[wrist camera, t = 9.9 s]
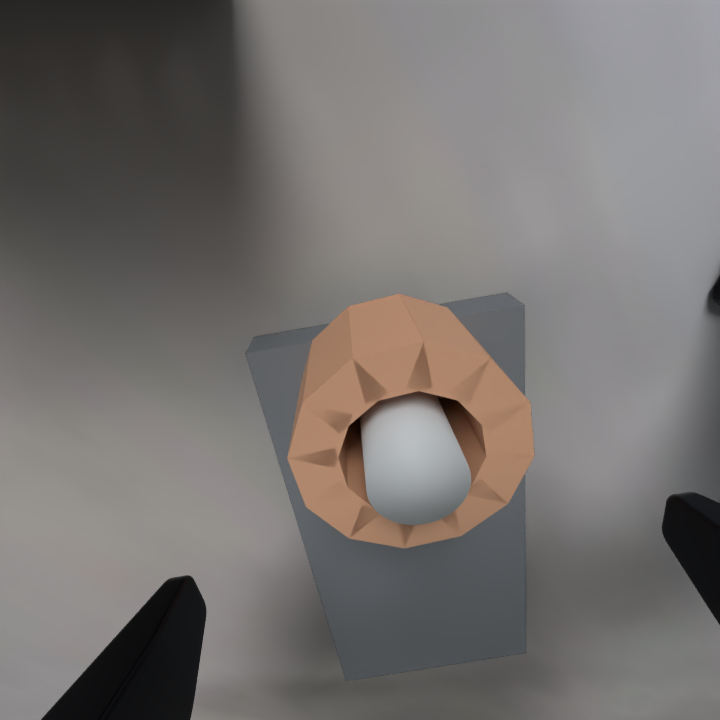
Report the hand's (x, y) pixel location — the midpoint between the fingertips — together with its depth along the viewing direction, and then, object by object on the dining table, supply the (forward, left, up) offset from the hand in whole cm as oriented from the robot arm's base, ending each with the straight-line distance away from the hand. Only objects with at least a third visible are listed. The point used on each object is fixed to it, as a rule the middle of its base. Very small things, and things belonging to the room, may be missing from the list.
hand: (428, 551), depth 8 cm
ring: (0, 0, -7) cm, 7 cm away
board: (-3, +6, -8) cm, 11 cm away
